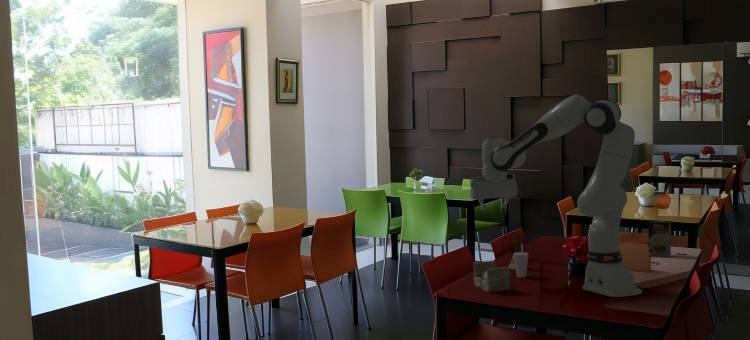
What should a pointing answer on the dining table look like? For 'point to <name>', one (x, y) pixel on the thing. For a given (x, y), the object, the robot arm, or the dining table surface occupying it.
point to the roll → (484, 275)
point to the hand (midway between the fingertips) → (494, 208)
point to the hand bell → (516, 243)
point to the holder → (491, 276)
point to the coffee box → (659, 238)
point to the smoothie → (521, 262)
